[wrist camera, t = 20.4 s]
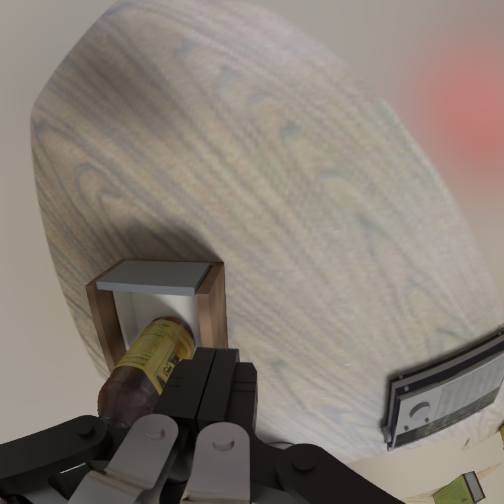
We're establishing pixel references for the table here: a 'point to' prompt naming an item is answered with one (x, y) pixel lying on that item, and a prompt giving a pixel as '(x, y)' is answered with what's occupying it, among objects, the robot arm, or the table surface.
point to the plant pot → (502, 433)
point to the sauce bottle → (144, 372)
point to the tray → (155, 294)
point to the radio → (444, 393)
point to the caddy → (208, 307)
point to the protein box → (461, 491)
